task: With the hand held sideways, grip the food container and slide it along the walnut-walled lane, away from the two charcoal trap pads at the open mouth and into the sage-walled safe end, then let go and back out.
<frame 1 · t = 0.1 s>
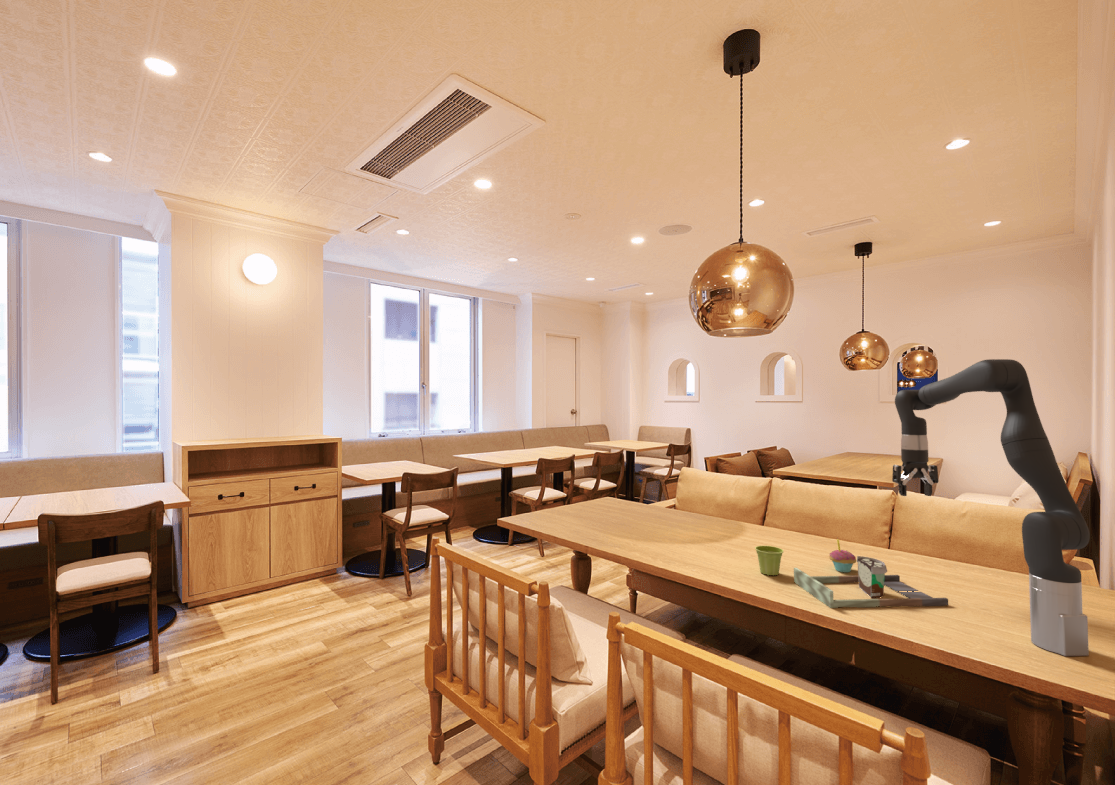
hand: (915, 495, 167), 29 cm above the table, tool pointing down, fingers open, 8 cm apart
food container: (875, 594, 157), resting in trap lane
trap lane: (872, 593, 157), on the table
plant pot: (769, 573, 176), on the table
cupcake: (842, 570, 179), on the table
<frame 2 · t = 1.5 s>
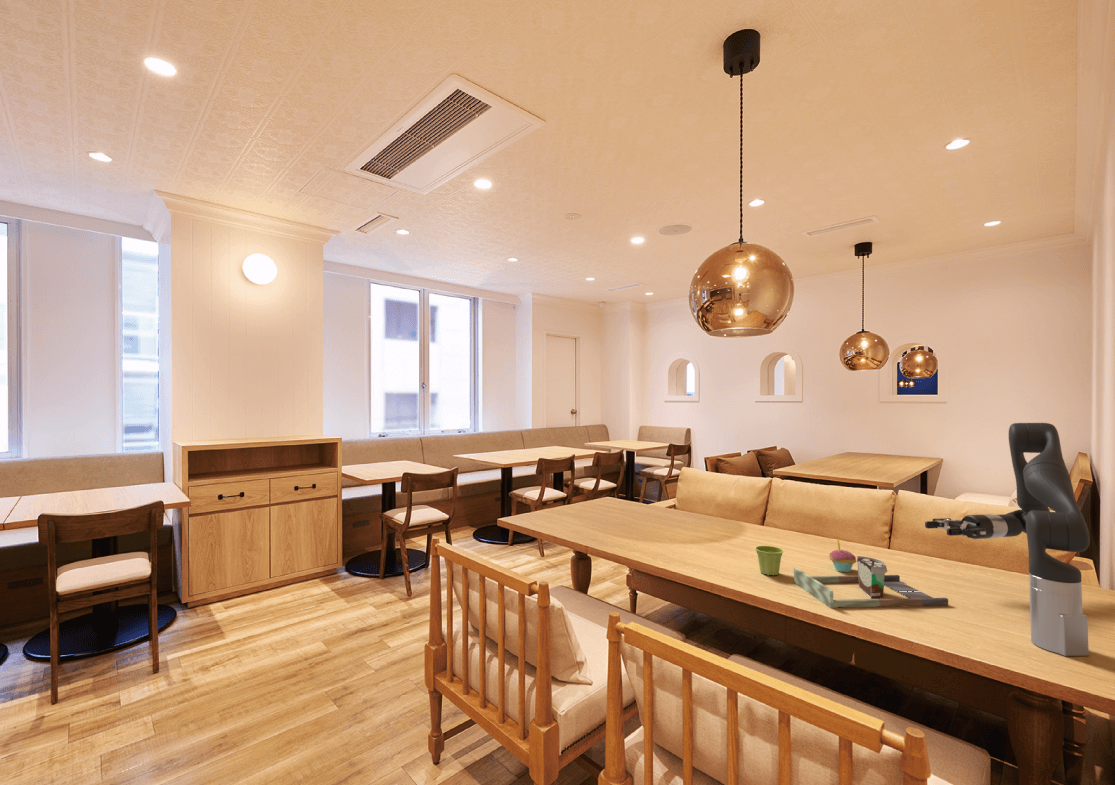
hand: (936, 528, 158), 20 cm above the table, tool horizontal, fingers open, 8 cm apart
nothing on the table moved.
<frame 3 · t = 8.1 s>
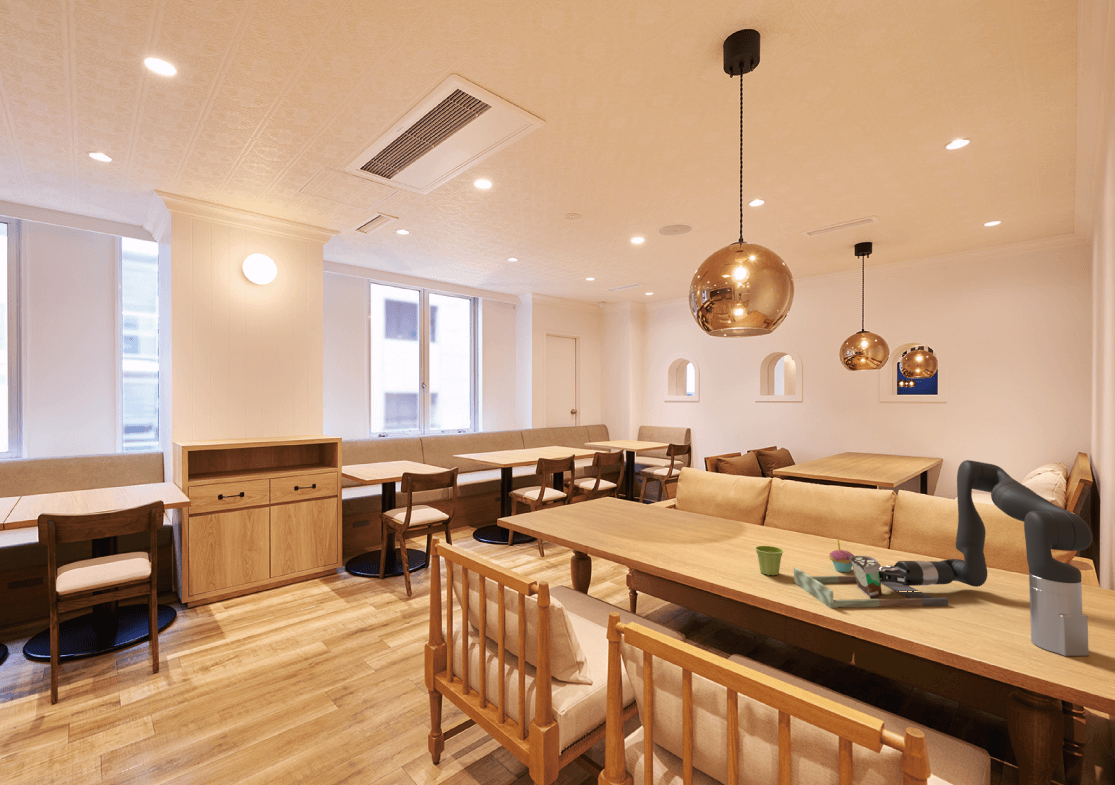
hand: (863, 573, 157), 6 cm above the table, tool horizontal, fingers closed
food container: (874, 591, 157), resting in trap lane, touching gripper
everything else where it was.
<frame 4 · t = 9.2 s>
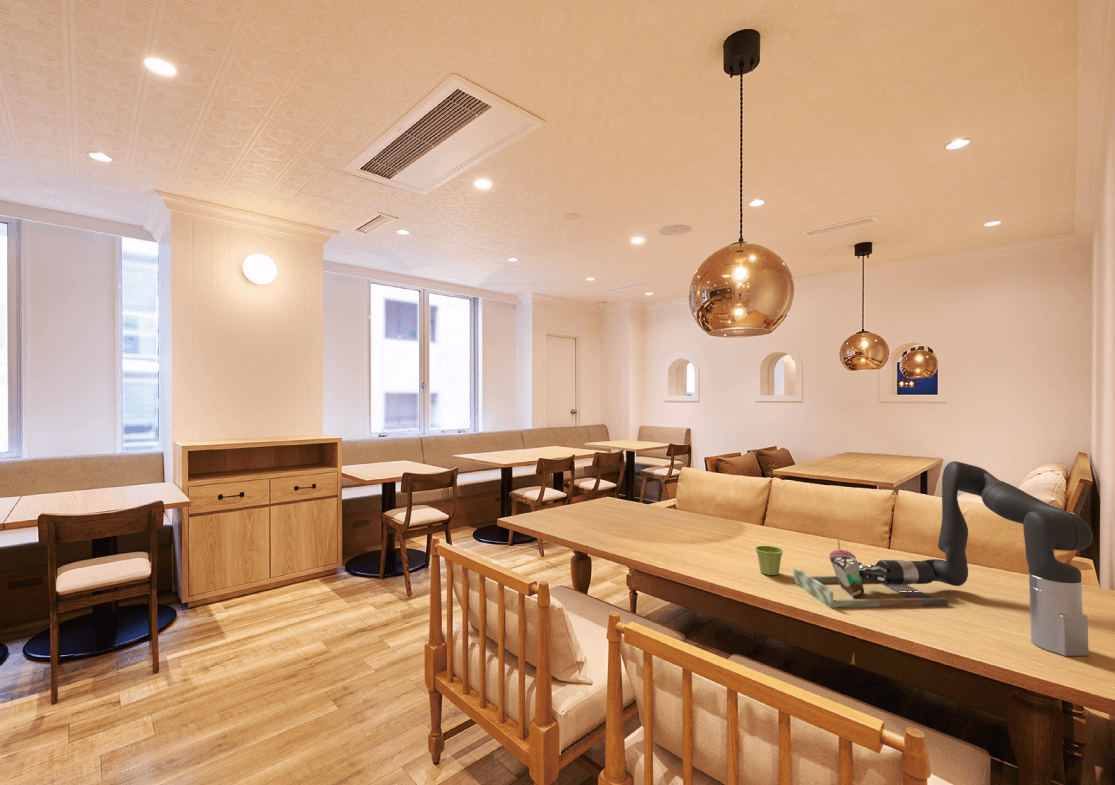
hand: (843, 572, 158), 7 cm above the table, tool horizontal, fingers closed
food container: (857, 590, 157), point 1 cm above the table, touching gripper
everything else where it was.
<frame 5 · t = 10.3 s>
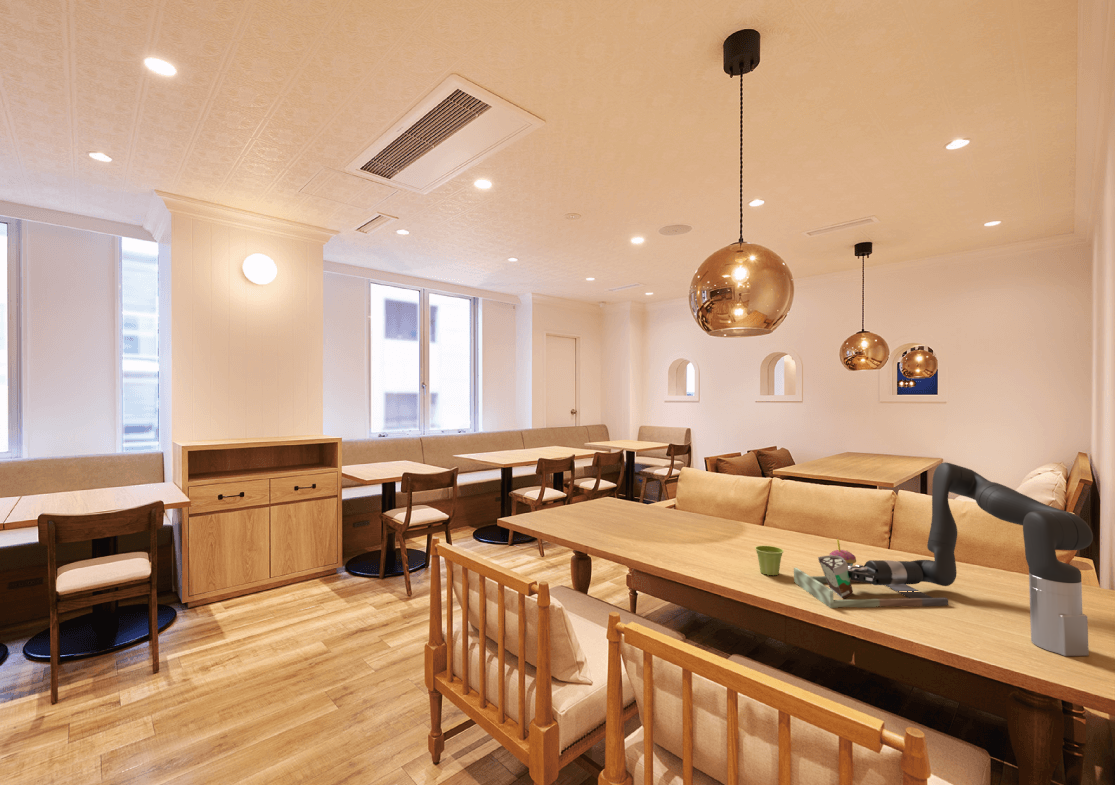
hand: (832, 572, 157), 7 cm above the table, tool horizontal, fingers closed
food container: (845, 590, 157), point 1 cm above the table, touching gripper
everything else where it was.
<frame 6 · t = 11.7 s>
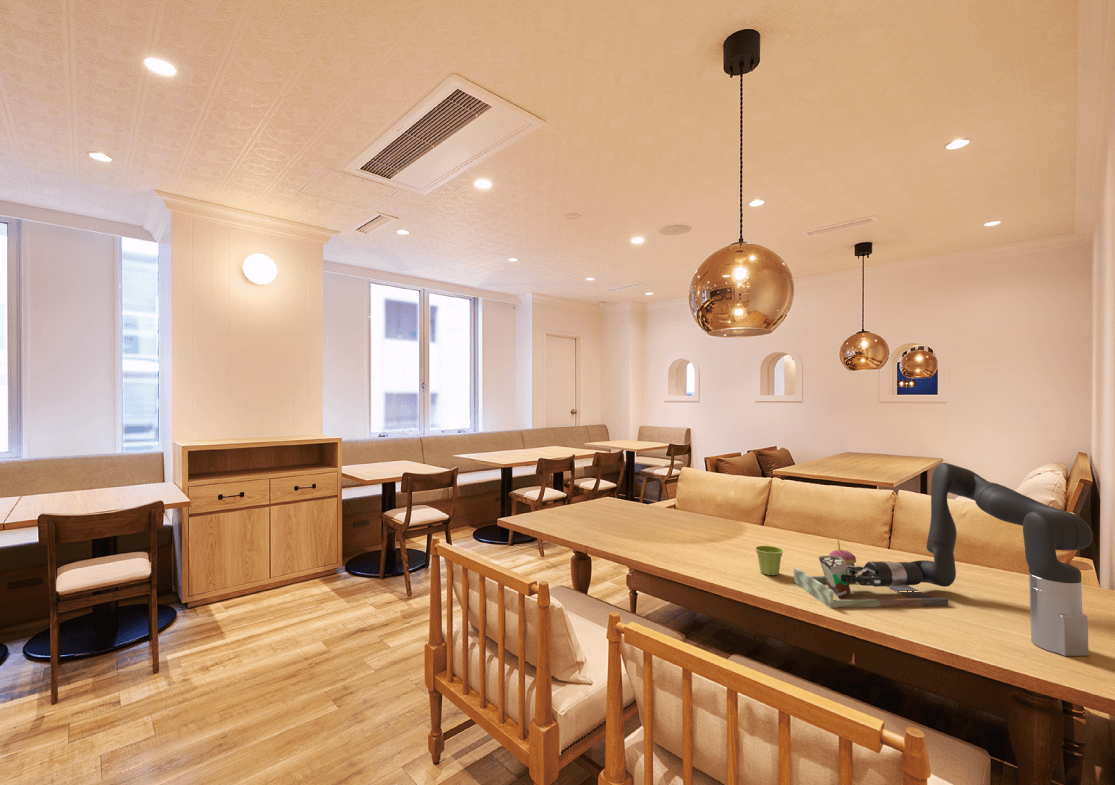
hand: (834, 574, 157), 6 cm above the table, tool horizontal, fingers open, 7 cm apart
food container: (843, 591, 157), point 1 cm above the table
everything else where it was.
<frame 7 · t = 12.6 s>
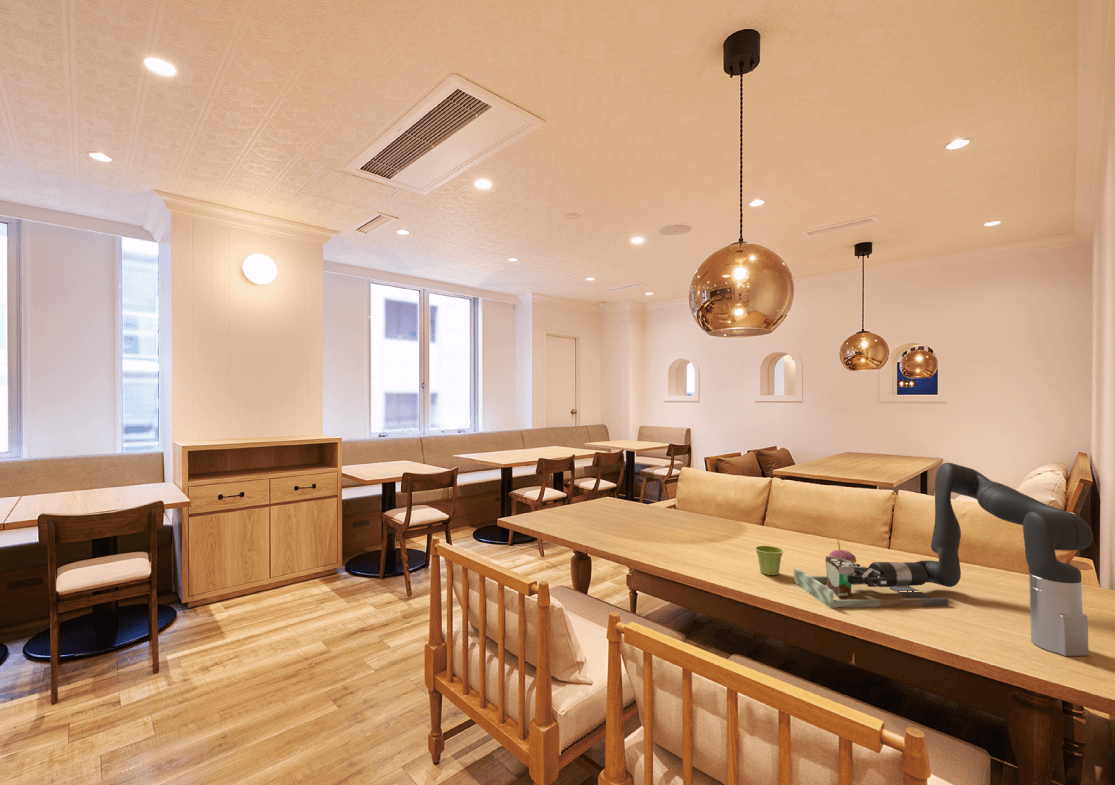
hand: (840, 575, 157), 6 cm above the table, tool horizontal, fingers open, 8 cm apart
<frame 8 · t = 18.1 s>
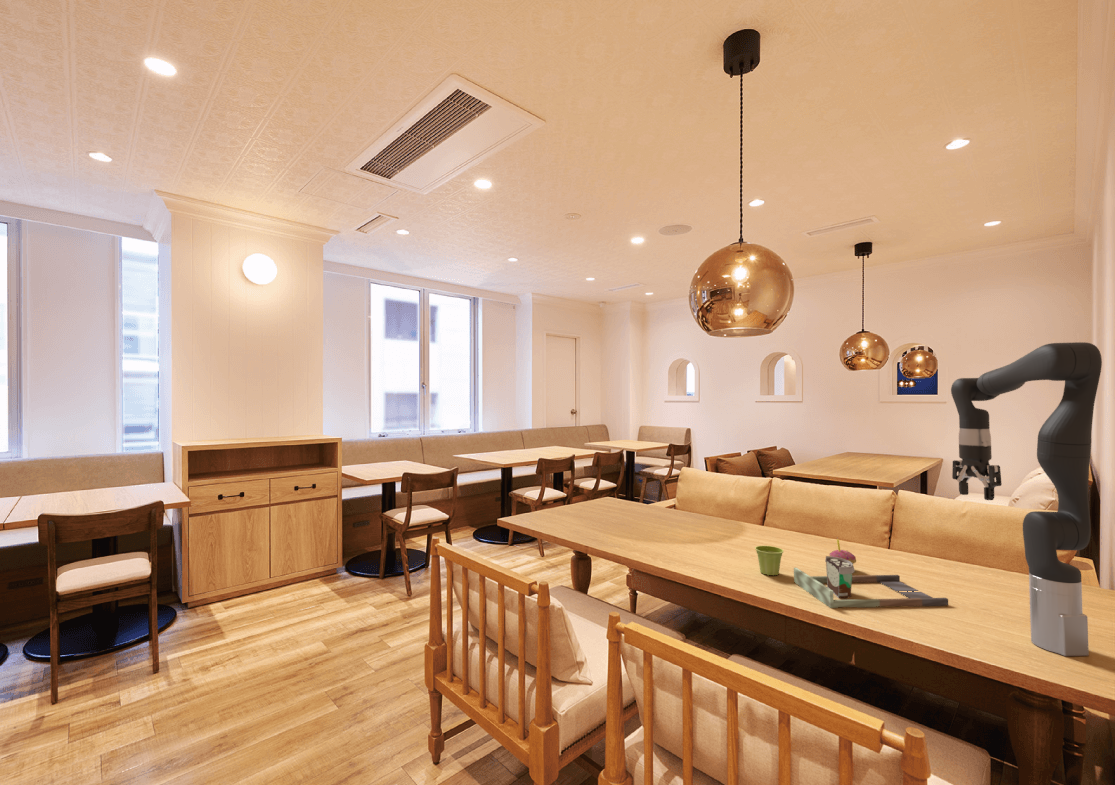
hand: (976, 497, 149), 32 cm above the table, tool pointing down, fingers open, 8 cm apart
at the end: food container inside the target area on the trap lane (1.9 cm from its centre), point 0.0 cm above the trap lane's base; food container tilted 0°; the gripper is holding nothing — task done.
